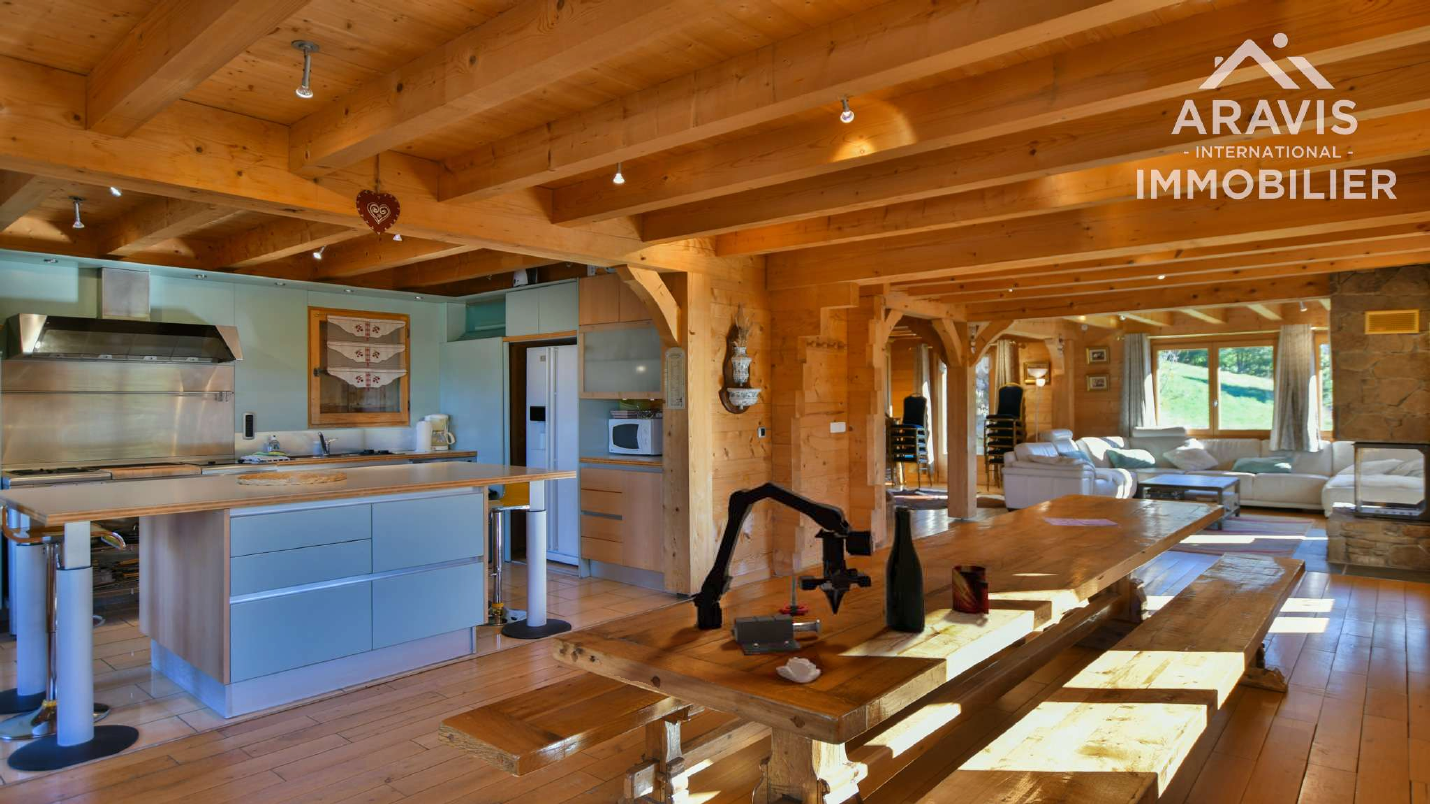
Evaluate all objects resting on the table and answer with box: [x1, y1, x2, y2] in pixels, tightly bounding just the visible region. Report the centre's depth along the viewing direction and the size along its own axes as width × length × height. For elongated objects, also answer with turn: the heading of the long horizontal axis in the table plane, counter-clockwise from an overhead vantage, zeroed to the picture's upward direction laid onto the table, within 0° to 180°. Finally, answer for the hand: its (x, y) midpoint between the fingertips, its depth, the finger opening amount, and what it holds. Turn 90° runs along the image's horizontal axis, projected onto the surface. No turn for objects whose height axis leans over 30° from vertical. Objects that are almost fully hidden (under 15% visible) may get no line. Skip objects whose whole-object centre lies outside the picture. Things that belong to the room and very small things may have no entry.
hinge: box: [731, 613, 803, 656], centre depth 208 cm, size 15×23×6 cm, turn 8°
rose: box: [776, 656, 821, 684], centre depth 180 cm, size 10×4×10 cm
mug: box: [951, 564, 990, 615], centre depth 230 cm, size 10×14×12 cm
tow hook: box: [780, 569, 810, 615], centre depth 236 cm, size 8×13×9 cm
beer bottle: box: [884, 505, 926, 633], centre depth 215 cm, size 10×10×33 cm
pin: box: [793, 619, 822, 634], centre depth 209 cm, size 15×3×3 cm, turn 98°
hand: (834, 613), depth 211 cm, fingers closed
